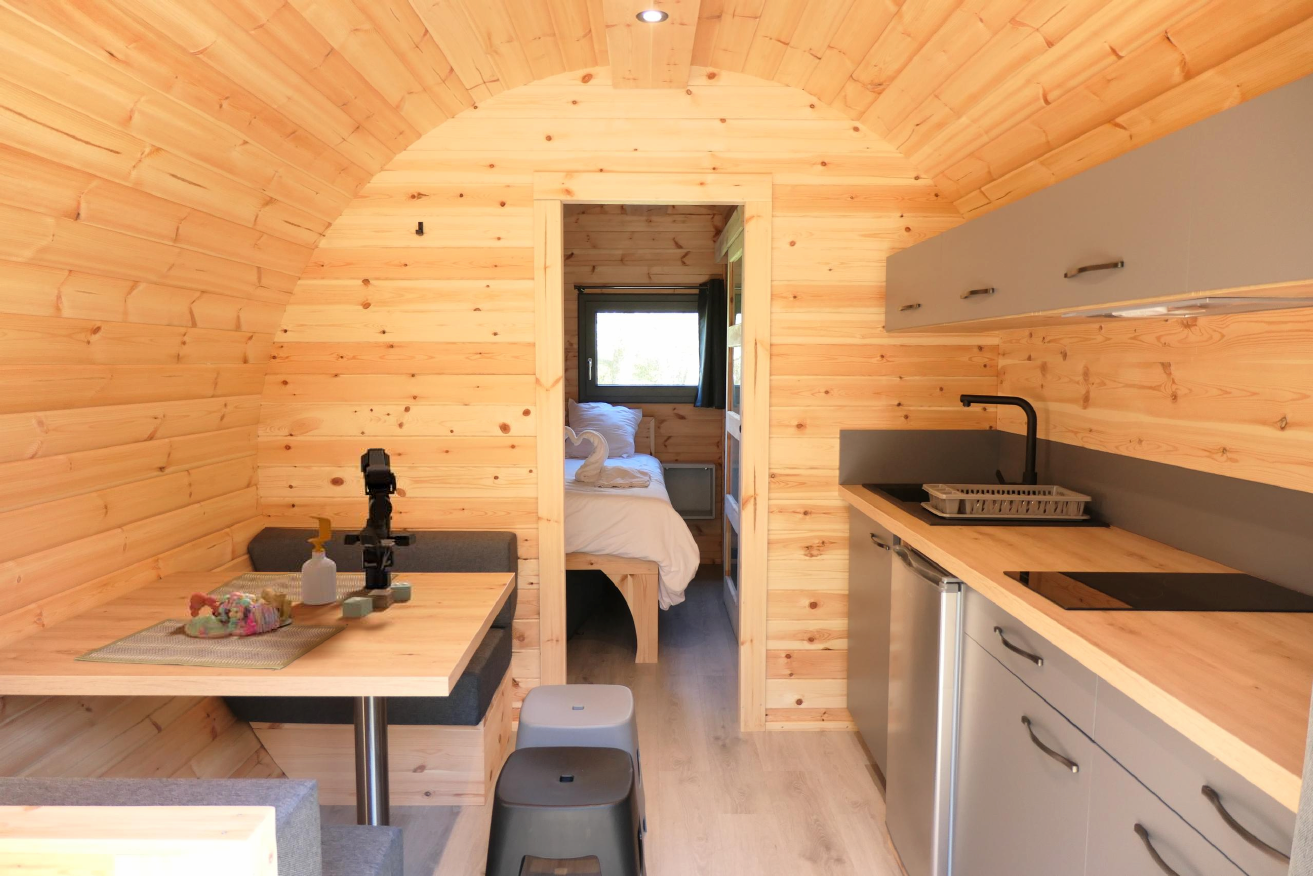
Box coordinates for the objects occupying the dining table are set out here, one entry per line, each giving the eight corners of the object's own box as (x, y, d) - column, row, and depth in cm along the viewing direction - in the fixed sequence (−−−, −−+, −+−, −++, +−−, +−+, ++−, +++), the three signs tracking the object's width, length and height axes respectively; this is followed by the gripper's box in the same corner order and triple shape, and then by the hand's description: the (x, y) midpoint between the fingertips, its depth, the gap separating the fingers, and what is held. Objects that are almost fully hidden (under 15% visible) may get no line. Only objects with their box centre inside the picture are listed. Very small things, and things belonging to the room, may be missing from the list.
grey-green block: (342, 617, 223) (342, 601, 223) (353, 611, 229) (353, 596, 228) (361, 618, 222) (361, 602, 222) (372, 612, 228) (372, 597, 227)
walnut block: (367, 609, 231) (367, 594, 231) (374, 603, 237) (374, 589, 236) (387, 609, 231) (387, 594, 231) (394, 603, 237) (393, 589, 236)
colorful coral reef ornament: (272, 607, 233) (272, 574, 232) (308, 625, 216) (307, 590, 215) (172, 625, 215) (171, 590, 214) (202, 646, 198) (201, 608, 198)
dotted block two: (390, 601, 239) (390, 586, 239) (391, 596, 245) (391, 582, 244) (410, 600, 241) (410, 585, 240) (411, 595, 246) (411, 581, 246)
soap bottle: (295, 603, 235) (293, 516, 233) (319, 595, 244) (317, 512, 242) (319, 607, 232) (318, 519, 230) (343, 599, 240) (342, 514, 239)
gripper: (333, 517, 225) (334, 575, 226) (400, 519, 223) (401, 577, 224) (352, 511, 236) (353, 566, 237) (416, 512, 234) (417, 568, 235)
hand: (380, 569), depth 233 cm, fingers closed
